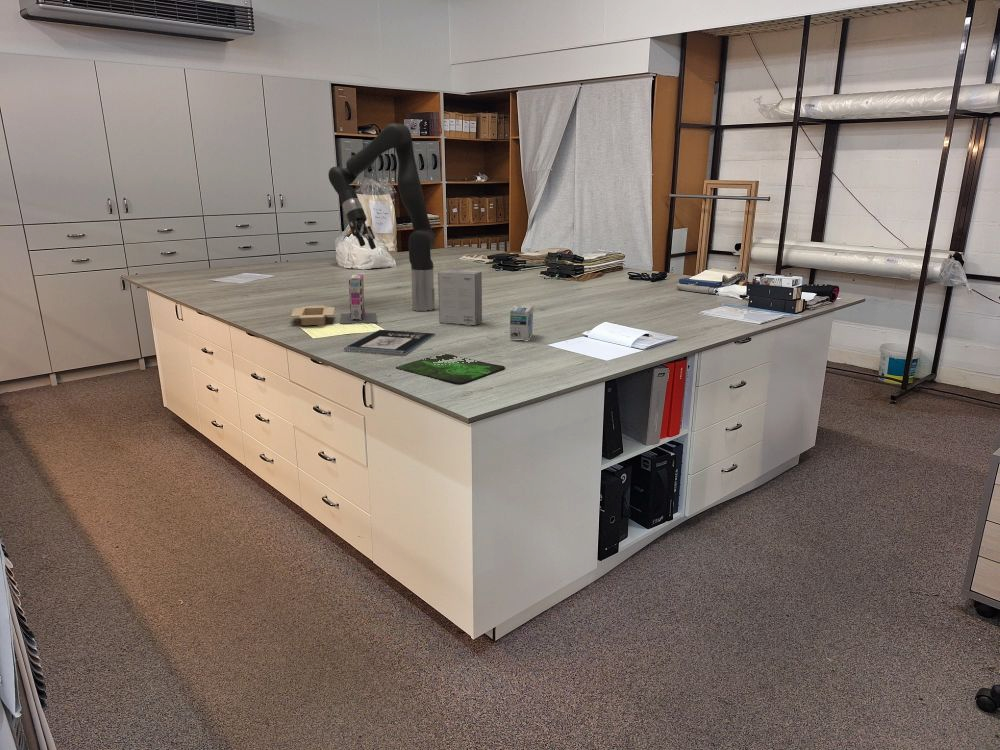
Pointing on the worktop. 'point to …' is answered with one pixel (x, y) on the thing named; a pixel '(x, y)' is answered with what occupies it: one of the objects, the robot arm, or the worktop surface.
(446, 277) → the hard drive box
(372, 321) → the mat
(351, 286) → the candy bar box
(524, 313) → the light bulb box
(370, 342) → the sketchbook
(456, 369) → the mouse mat
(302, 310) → the carton
